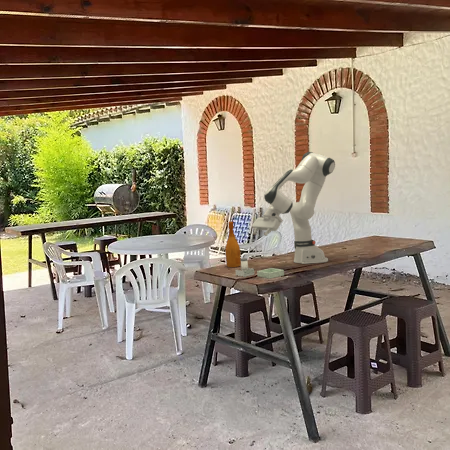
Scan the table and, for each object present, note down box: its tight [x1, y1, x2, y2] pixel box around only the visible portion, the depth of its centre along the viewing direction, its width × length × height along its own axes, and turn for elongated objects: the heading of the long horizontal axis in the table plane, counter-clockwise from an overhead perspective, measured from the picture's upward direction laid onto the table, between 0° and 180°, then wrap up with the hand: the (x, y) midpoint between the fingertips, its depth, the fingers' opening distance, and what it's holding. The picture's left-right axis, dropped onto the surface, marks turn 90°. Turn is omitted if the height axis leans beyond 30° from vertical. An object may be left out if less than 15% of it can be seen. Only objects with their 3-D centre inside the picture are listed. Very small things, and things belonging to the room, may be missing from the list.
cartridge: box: [240, 257, 249, 270], centre depth 307 cm, size 4×4×10 cm
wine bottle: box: [224, 221, 242, 268], centre depth 337 cm, size 10×10×30 cm
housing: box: [235, 267, 255, 278], centre depth 308 cm, size 8×8×4 cm
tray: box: [256, 267, 285, 279], centre depth 300 cm, size 11×11×3 cm
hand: (259, 234), depth 312 cm, fingers open, 8 cm apart
